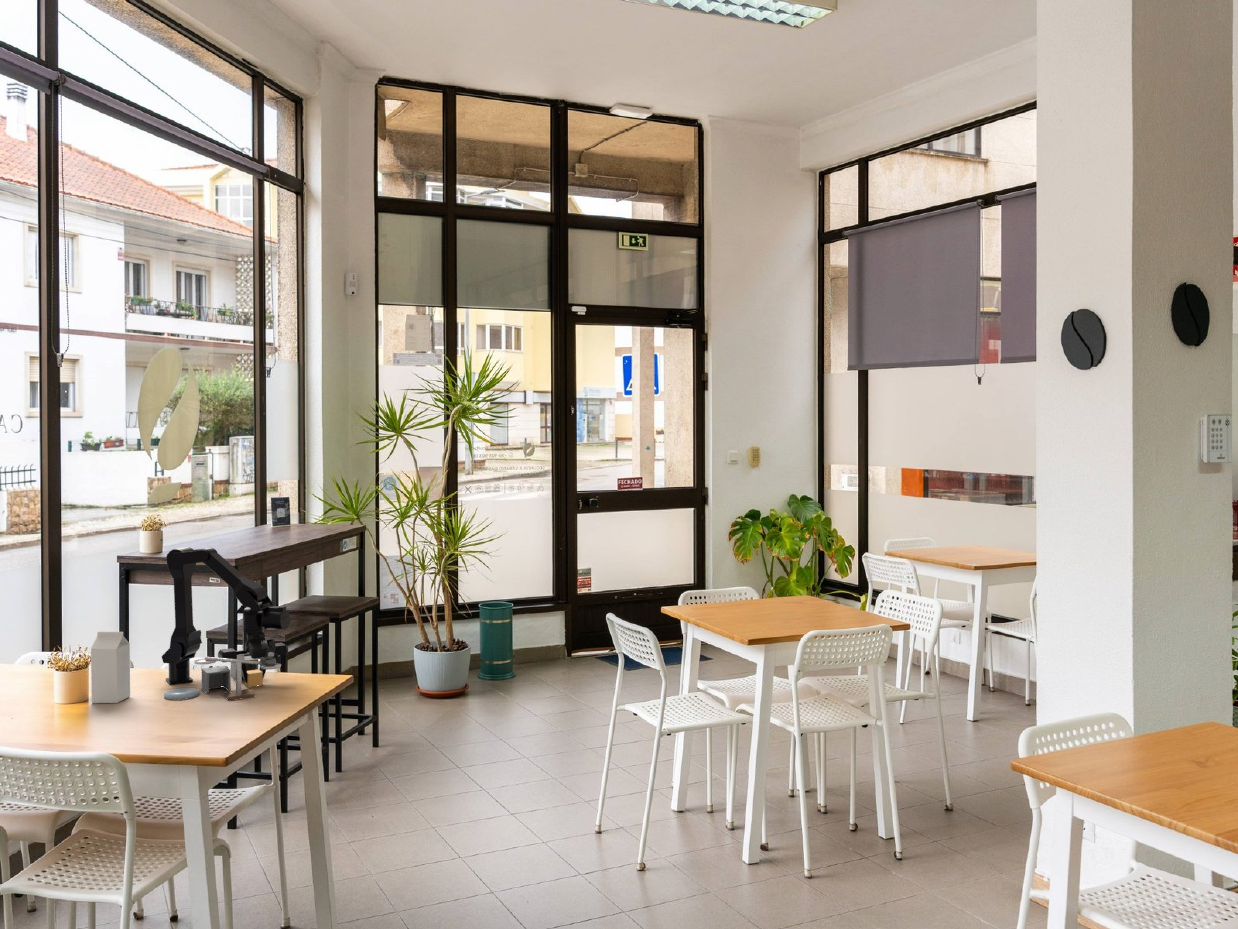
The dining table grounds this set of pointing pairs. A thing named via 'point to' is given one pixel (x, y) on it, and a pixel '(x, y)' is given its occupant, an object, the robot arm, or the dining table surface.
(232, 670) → the hiding cup
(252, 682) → the orange block
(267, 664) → the balance scale
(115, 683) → the milk carton
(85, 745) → the dining table surface
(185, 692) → the slate dish
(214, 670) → the grey cube box
